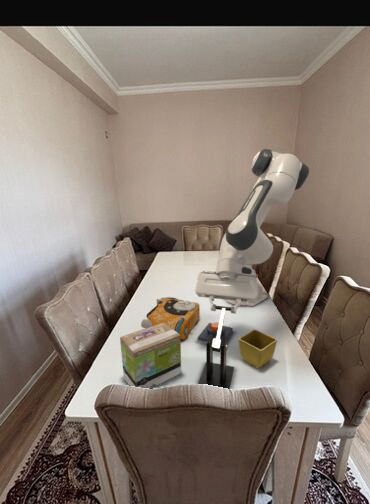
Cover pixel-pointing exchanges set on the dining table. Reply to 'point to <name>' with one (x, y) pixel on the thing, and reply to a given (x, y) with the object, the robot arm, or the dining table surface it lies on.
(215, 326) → the button
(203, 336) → the button block
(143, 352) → the tea box
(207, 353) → the bracket
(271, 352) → the flower pot
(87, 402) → the dining table surface
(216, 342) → the lever
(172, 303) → the device
